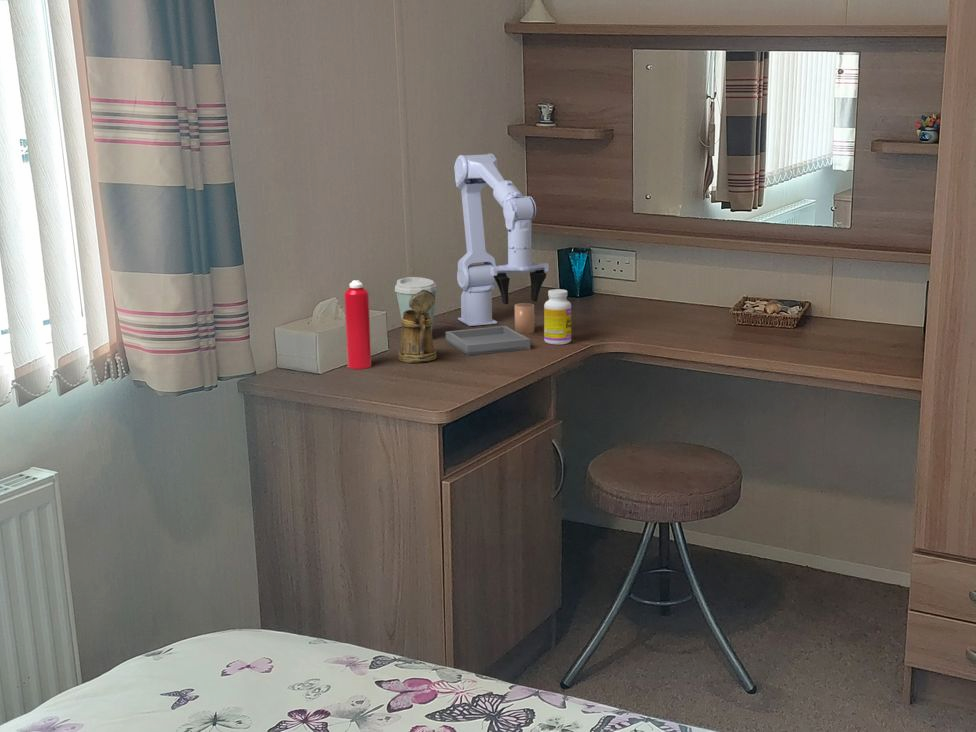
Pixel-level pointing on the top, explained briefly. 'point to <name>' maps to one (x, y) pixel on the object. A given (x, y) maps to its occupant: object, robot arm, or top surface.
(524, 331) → the terracotta cup
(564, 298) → the supplement bottle
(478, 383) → the top surface
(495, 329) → the gray tray
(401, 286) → the disposable coffee cup
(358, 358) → the bottle
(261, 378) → the top surface
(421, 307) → the wooden mug
